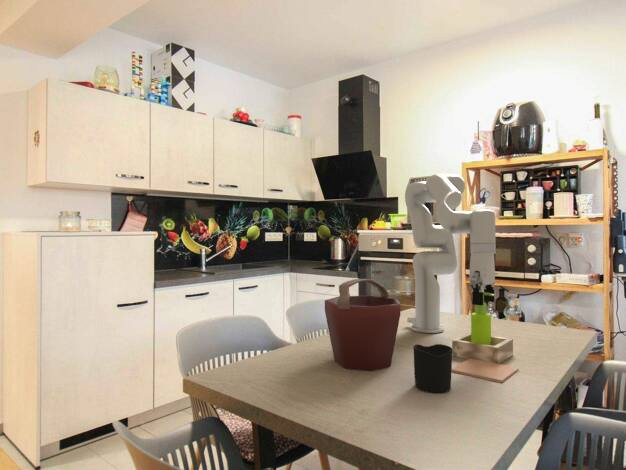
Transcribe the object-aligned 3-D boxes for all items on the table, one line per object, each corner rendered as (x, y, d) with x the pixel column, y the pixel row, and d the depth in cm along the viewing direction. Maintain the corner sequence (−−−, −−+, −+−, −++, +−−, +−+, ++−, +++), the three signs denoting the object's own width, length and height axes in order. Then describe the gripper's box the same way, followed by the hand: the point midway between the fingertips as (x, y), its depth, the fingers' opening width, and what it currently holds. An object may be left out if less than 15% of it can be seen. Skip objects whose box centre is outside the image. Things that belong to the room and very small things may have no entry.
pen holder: (423, 378, 115) (423, 341, 115) (458, 386, 109) (458, 347, 109) (406, 388, 108) (406, 348, 108) (443, 397, 102) (443, 355, 102)
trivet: (450, 371, 121) (450, 369, 121) (469, 360, 131) (469, 358, 131) (502, 382, 112) (502, 380, 112) (518, 369, 122) (518, 367, 122)
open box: (452, 356, 136) (452, 340, 136) (469, 347, 147) (469, 332, 146) (498, 364, 127) (498, 347, 127) (512, 354, 137) (512, 339, 137)
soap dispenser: (491, 359, 132) (491, 294, 132) (468, 355, 136) (468, 292, 136) (496, 355, 137) (496, 292, 137) (474, 351, 141) (474, 290, 141)
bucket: (352, 379, 114) (352, 285, 114) (307, 359, 132) (307, 278, 132) (417, 364, 128) (417, 280, 128) (368, 348, 146) (368, 274, 146)
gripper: (481, 248, 145) (481, 299, 145) (460, 249, 132) (461, 305, 132) (504, 248, 140) (505, 301, 140) (484, 249, 127) (485, 307, 127)
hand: (483, 303), depth 136 cm, fingers open, 9 cm apart
